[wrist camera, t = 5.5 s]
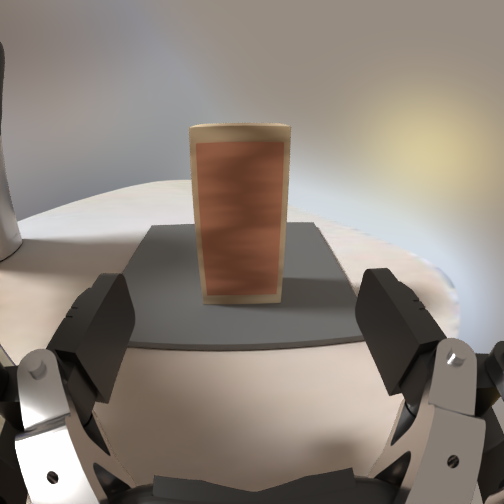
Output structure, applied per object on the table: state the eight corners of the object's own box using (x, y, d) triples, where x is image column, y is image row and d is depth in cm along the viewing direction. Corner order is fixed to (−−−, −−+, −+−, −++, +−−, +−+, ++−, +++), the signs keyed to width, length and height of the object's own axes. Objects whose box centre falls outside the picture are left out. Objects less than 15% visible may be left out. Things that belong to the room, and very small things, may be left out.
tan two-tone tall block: (203, 305, 21) (188, 127, 15) (207, 278, 24) (197, 124, 18) (280, 304, 21) (291, 126, 15) (275, 277, 25) (281, 123, 18)
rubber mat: (90, 342, 18) (88, 336, 17) (152, 229, 35) (151, 225, 35) (373, 339, 18) (375, 333, 18) (313, 226, 36) (313, 222, 36)
